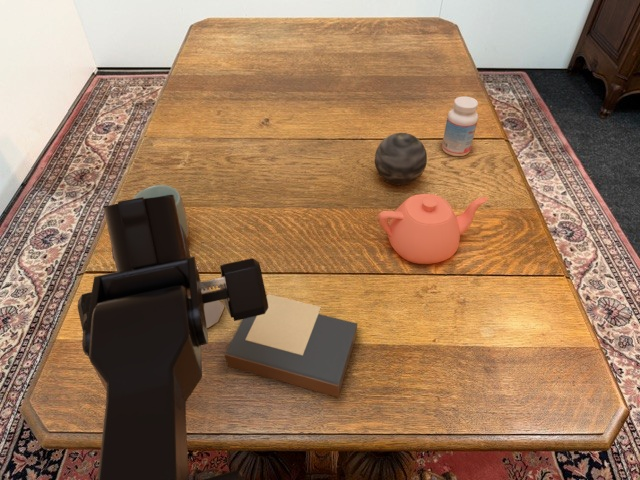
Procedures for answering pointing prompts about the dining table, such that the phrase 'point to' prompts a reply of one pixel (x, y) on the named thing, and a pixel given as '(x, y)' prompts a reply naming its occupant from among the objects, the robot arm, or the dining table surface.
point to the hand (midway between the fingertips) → (184, 295)
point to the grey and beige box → (294, 345)
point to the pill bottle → (460, 126)
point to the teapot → (427, 228)
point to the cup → (163, 191)
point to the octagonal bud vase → (212, 310)
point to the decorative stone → (400, 158)
